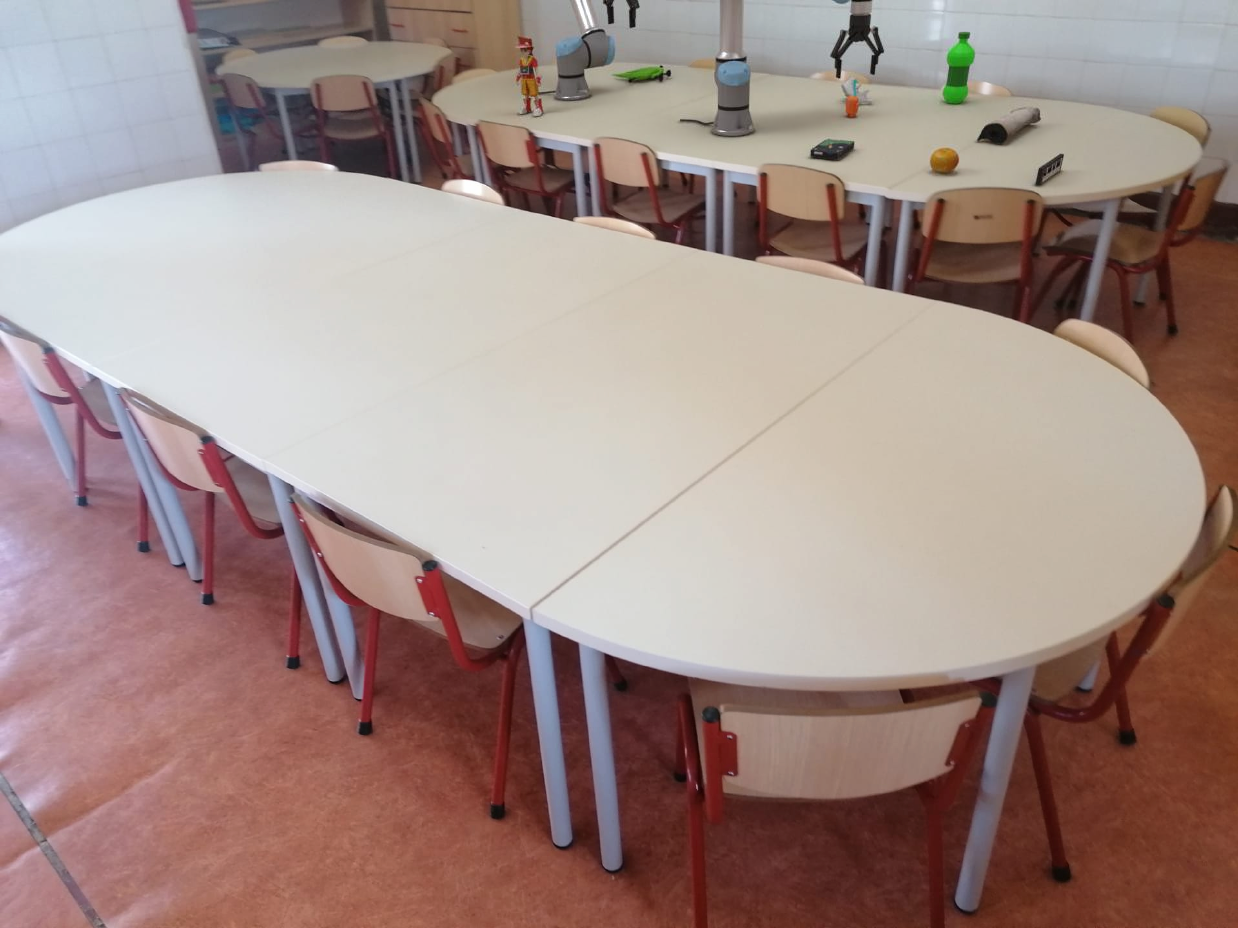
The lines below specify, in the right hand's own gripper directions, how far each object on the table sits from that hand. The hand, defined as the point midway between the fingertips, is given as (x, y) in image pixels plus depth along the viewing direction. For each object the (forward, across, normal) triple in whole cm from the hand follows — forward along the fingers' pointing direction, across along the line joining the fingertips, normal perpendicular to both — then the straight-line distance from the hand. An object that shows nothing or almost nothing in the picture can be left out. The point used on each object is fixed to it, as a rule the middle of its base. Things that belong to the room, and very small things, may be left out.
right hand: (855, 76), depth 337 cm
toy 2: (+14, +63, -103) cm, 121 cm away
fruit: (+15, +1, +74) cm, 76 cm away
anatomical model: (+15, -10, -21) cm, 28 cm away
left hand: (-16, +77, -61) cm, 99 cm away
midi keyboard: (+15, -25, +91) cm, 96 cm away
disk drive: (+14, +26, +44) cm, 53 cm away
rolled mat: (+15, -40, +43) cm, 61 cm away
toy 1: (+14, +119, -55) cm, 132 cm away
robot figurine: (+15, 0, 0) cm, 15 cm away
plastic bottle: (+15, -45, -5) cm, 47 cm away
